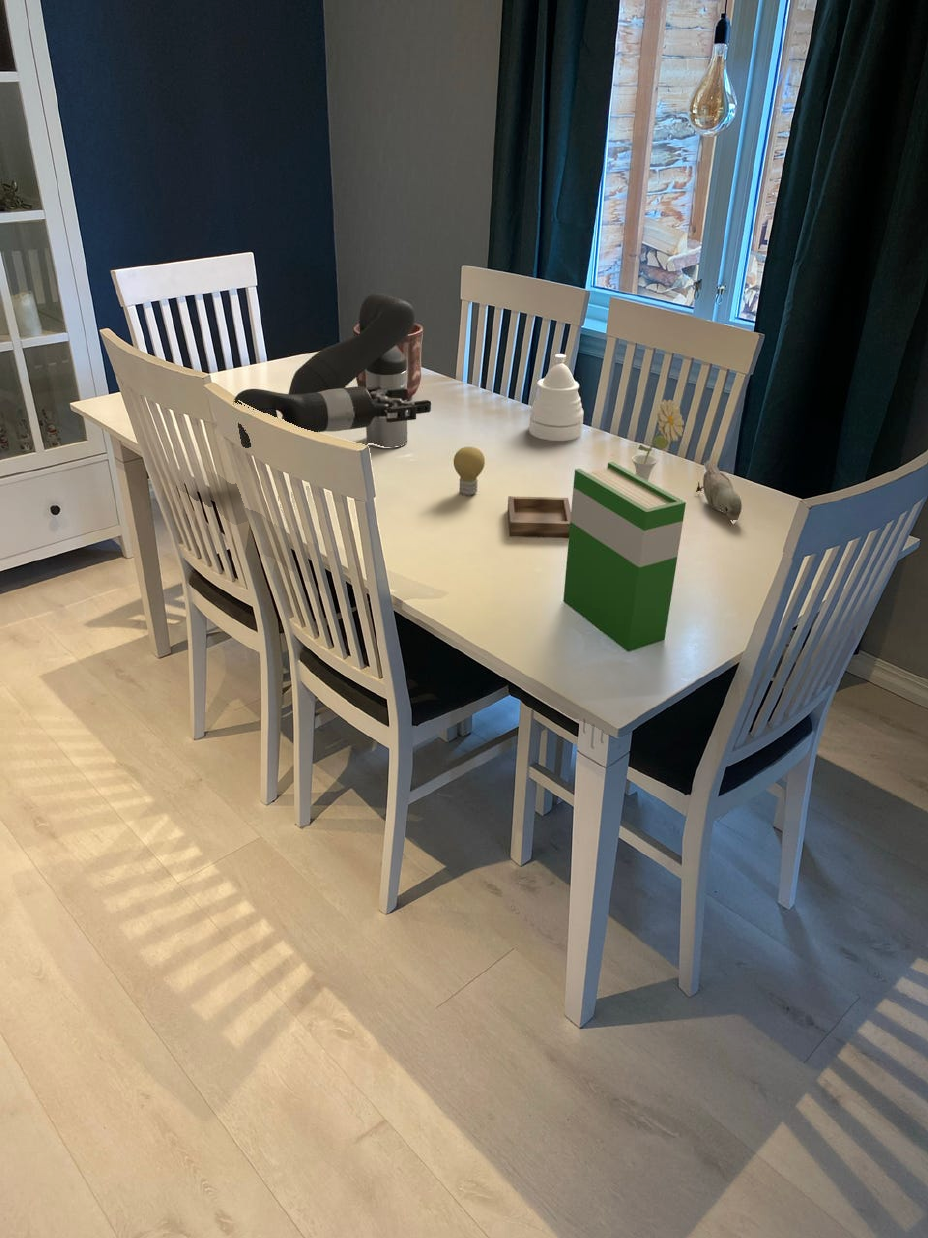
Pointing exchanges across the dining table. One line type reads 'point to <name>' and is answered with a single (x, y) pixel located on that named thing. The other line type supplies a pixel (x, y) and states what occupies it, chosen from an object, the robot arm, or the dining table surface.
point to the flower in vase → (660, 437)
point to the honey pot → (557, 405)
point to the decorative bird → (720, 492)
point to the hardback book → (622, 554)
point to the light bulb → (469, 468)
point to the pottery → (413, 357)
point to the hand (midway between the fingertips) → (418, 399)
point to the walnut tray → (539, 517)
